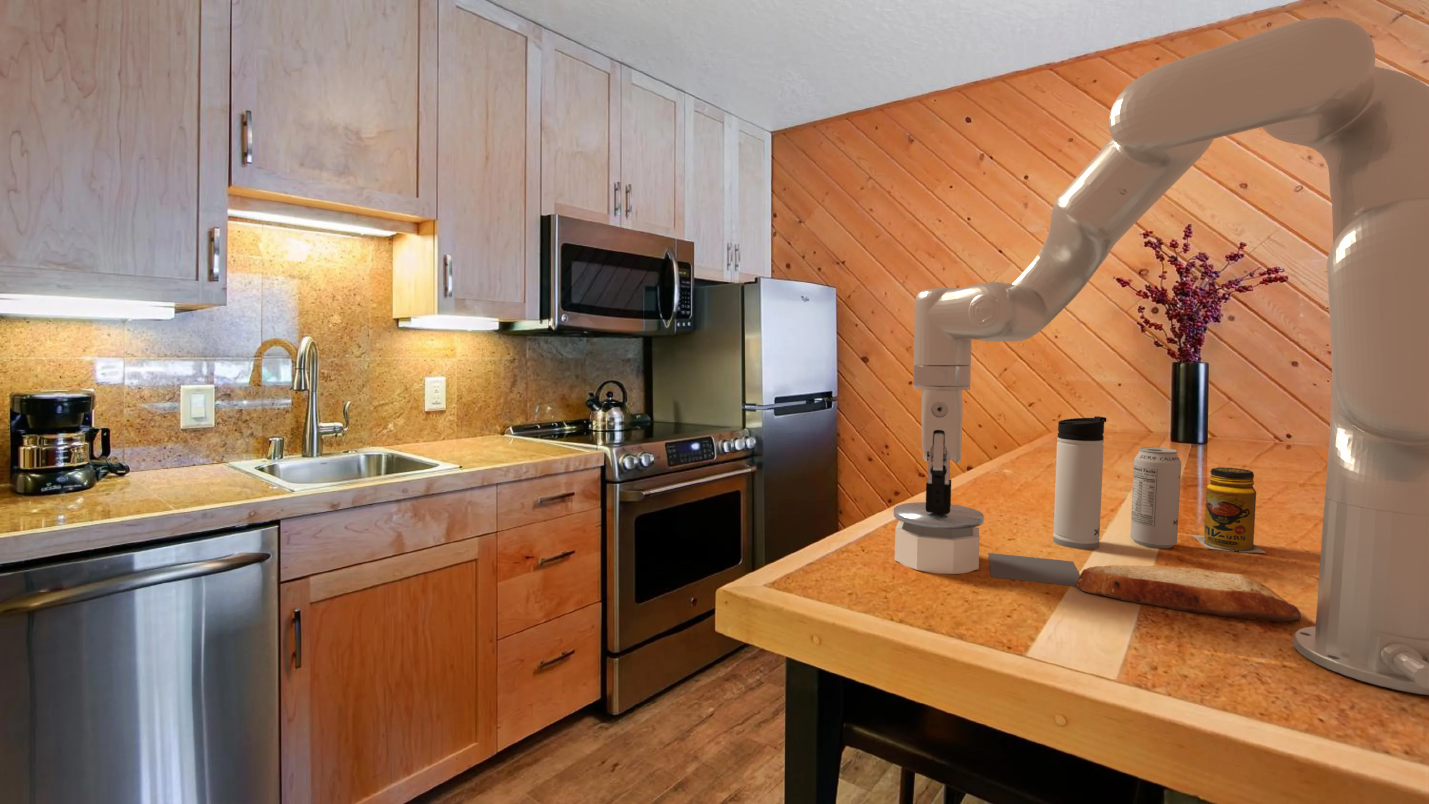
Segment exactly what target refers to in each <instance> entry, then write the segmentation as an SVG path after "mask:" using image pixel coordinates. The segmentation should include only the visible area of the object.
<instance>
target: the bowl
mask: <svg viewBox="0 0 1429 804" xmlns="http://www.w3.org/2000/svg"><path fill="white" fill-rule="evenodd" d="M980 538H981V537H980V528H979V527H972V528H964V529H941V528H930V527H923V526H917V525H913V524H909V523H905V522H903V521H900V520H898V522H897V523H896V526H895V529H894V561H896V562H897V563H900V564H901V565H902V566H904V567H907V568H909V569H912V570H915V571H920V572H925V573H931V574H939V575H942V574H943V575H959V574H966V573H970V572H973V571H977V570H979V569H980V566H979V565H980V540H981V539H980Z"/></svg>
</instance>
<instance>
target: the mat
mask: <svg viewBox="0 0 1429 804" xmlns="http://www.w3.org/2000/svg"><path fill="white" fill-rule="evenodd" d="M988 563H989V573H990V578H997V579H1006V580H1013V581H1022V582H1031V583H1040V584H1049V585H1058V586H1067V587H1076V588H1078V586H1077V585H1076V582H1077V581H1078V579H1079V577H1080V575H1081V574H1080V573H1079V570H1077V567H1076V565H1075V563H1074V561H1072V560H1062V559H1054V558H1042V557H1033V556H1023V555H1022V556H1021V555H1013V554H1012V555H1011V554H1003V553H994V552H993V553H992V552H988Z"/></svg>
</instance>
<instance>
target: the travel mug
mask: <svg viewBox="0 0 1429 804" xmlns="http://www.w3.org/2000/svg"><path fill="white" fill-rule="evenodd" d="M1106 422H1107V417H1105V416H1098V415H1097V416H1093V417H1076V418H1075V417H1074V418H1067V419H1061V420H1058V425H1057V426H1058V427H1057V431H1058V433H1057V439H1056V440H1057V442H1056V462H1055V463H1056V464H1055V485H1054V511H1053V512H1054V514H1053V535H1052V536H1053V537H1052V541H1053V543H1054V544H1056V545H1059V546H1061V547H1066V548H1069V549H1077V550H1095V549H1099V547H1100V535H1101V533H1100V531H1101V513H1102V512H1101V511H1102V509H1101V508H1102V493H1103V492H1102V487H1103V467H1104V465H1103V464H1104V443H1105V440H1104V438H1105V437H1104V433H1105V423H1106Z"/></svg>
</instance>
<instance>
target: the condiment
mask: <svg viewBox="0 0 1429 804" xmlns="http://www.w3.org/2000/svg"><path fill="white" fill-rule="evenodd" d="M1254 478H1255V473H1254V471H1252V470H1249V469H1245V468H1237V467H1227V466H1226V467H1220V466H1219V467H1213V468H1211V469H1210V478H1209V481H1210V482H1209V484H1208V485H1207V487H1206V490H1205V491H1206V493H1205V494H1206V495H1205V509H1204V511H1205V513H1204V522H1203V523H1204V525H1203V527H1204V531H1203V532H1204V534H1203V535H1199V534H1198V535H1197V534H1191V536H1192V538H1194V539H1195V540H1197V541H1198V542H1199V544H1201V545H1202V546H1203V547H1205V548H1206V549H1209V550H1219V551H1224V552H1225V551H1226V552H1234V551H1239V552H1240V553H1257V554H1267V552H1266V551H1264V550H1262V549H1261V548H1259V547H1258V546H1256V545H1255V540H1254V539H1255V526H1256V525H1255V522H1256V504H1257V503H1256V502H1257V490H1256V489H1255V488H1254V484H1255V481H1254ZM1205 544H1206V545H1205ZM1230 550H1231V551H1230ZM1239 552H1238V553H1239Z"/></svg>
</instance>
